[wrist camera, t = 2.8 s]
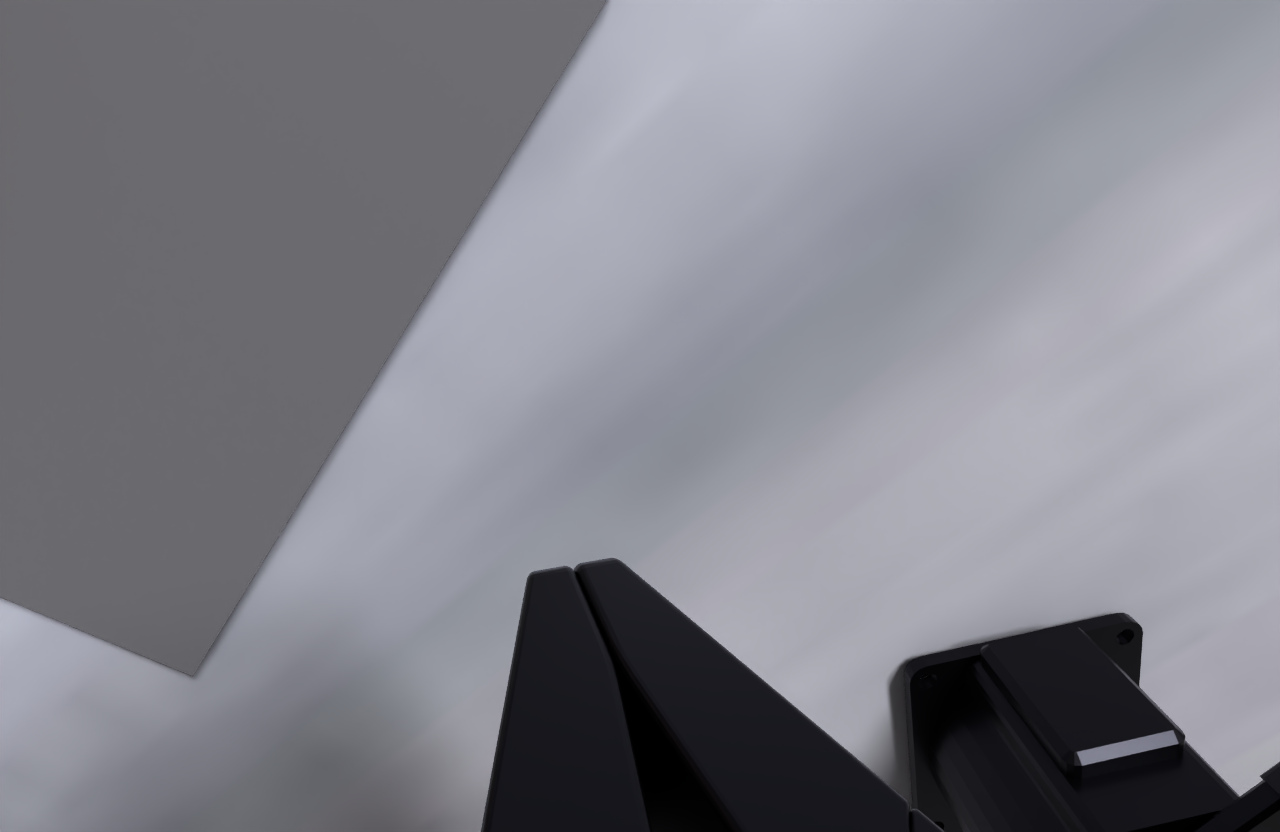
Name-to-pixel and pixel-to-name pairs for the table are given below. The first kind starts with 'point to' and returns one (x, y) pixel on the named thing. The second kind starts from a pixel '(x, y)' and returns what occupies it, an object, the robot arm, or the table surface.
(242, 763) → the table surface
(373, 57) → the mat
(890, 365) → the table surface
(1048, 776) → the robot arm
